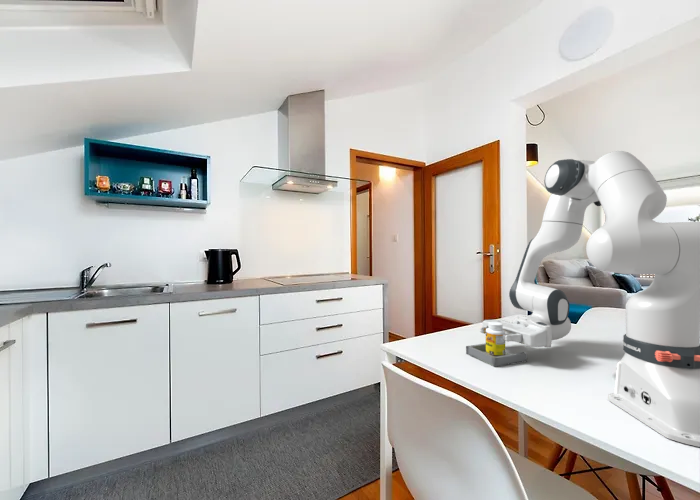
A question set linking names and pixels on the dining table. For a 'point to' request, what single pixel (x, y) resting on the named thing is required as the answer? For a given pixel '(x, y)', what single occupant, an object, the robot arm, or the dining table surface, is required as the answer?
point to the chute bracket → (506, 359)
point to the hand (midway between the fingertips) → (492, 334)
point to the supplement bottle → (495, 339)
